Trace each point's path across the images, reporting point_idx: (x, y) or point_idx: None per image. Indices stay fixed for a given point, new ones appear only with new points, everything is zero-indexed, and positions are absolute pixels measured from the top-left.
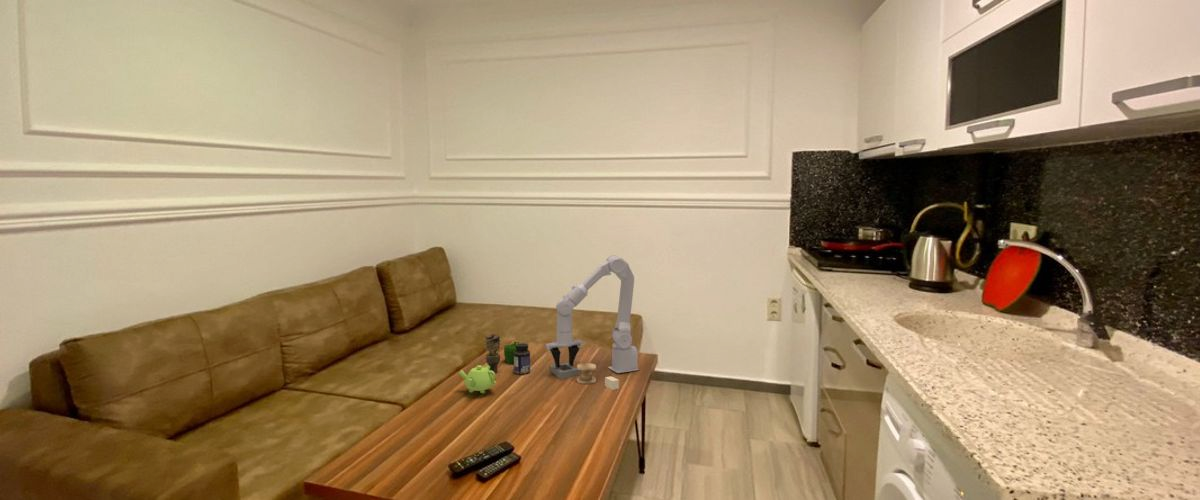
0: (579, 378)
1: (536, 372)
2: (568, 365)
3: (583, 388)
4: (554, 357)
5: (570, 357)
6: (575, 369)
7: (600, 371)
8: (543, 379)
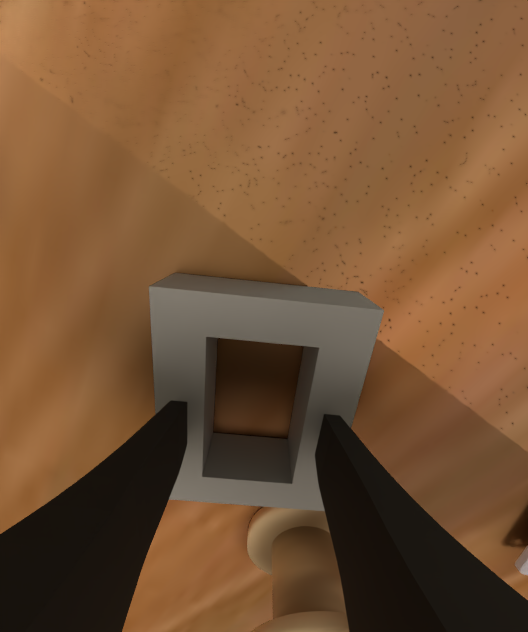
0: (271, 529)
1: (50, 222)
2: (322, 390)
3: (227, 586)
4: (94, 493)
5: (350, 512)
6: (305, 497)
7: (500, 453)
8: (69, 406)
